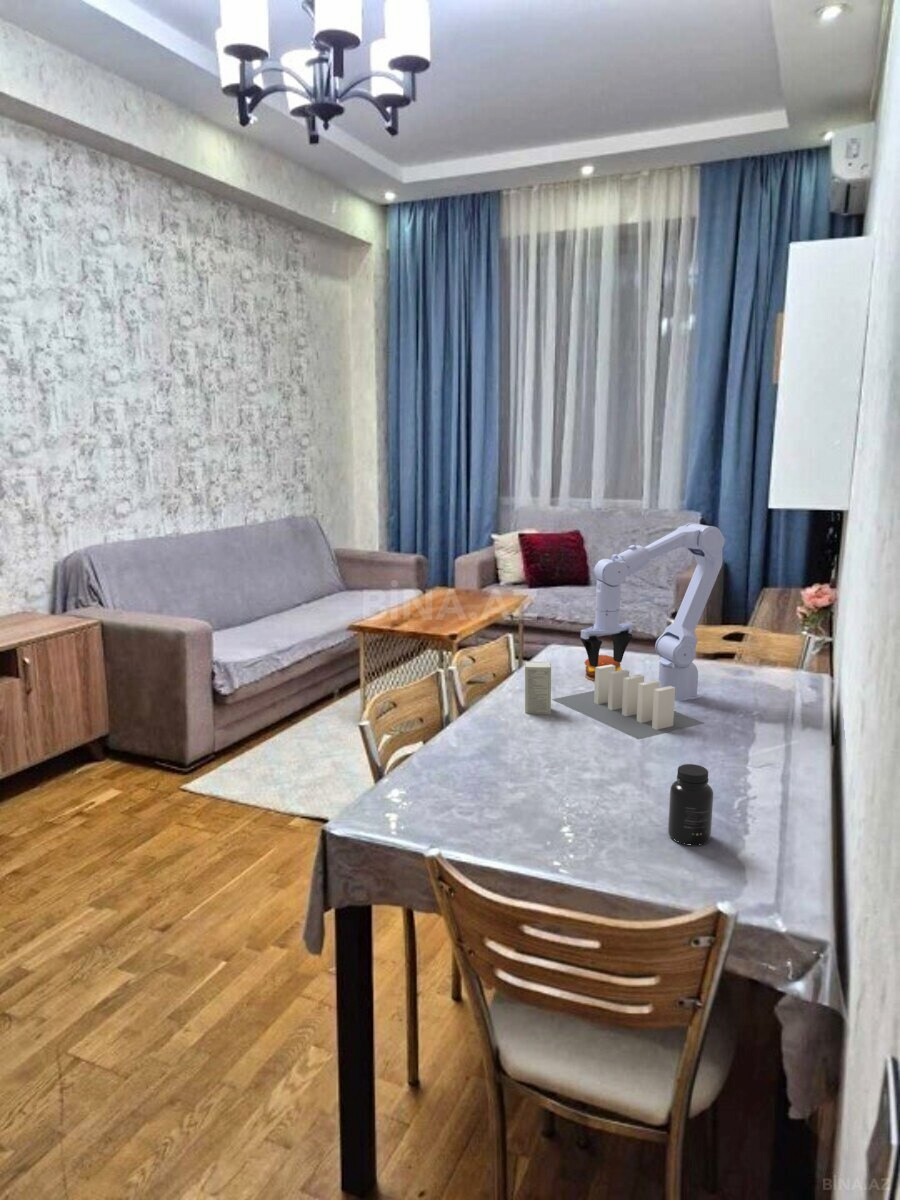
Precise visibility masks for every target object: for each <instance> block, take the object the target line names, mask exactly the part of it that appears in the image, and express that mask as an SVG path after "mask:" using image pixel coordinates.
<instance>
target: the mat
mask: <svg viewBox="0 0 900 1200" xmlns="http://www.w3.org/2000/svg"><path fill="white" fill-rule="evenodd" d="M594 693H595V690H592V691H586V692H581V693H576V694H571V695H567V696H561V697H557V698H551V701H552V700H553V701H554V702H556V703H559V704H561V705H563V706H565V707H567V708H569V709H571V710H574V711H576V712H578V713H580V714H582V715H584V716H587V717H589V718H590V719H594V720H595V721H598V722H600V723H602V724H604V725H606V726H608V727H611V728H613V729H615V730H617V731H619V732H622V733H623V734H625V735H628V736H630V737H632V738H634V739H636V740H641V739H647V738H650V737H654V736H658V735H662V734H666V733H670V732H674V731H678V730H683V729H686V728H690V727H694V726H699V725H702V724H704V722H703V721H700V720H698V719H695V718H693V717H690V716H688V715H685V714H682V713H681V712H679V711H675V710H674V720H673V726H670V727H666V728H662V729H658V730H656V729H654V728H652V720H651V721H647V722H643V723H640V722H638V721H637V714H635V715H630V716H624V715H622V708H620V709H615V710H610V709H608V702H607V703H602V704H596V703H594Z"/></svg>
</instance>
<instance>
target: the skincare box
mask: <svg viewBox="0 0 900 1200" xmlns="http://www.w3.org/2000/svg"><path fill="white" fill-rule="evenodd" d="M551 712H552V663H551V661H525V662H524V714H536V715H537V714H539V715H540V714H541V715H551V714H552V713H551Z"/></svg>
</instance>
